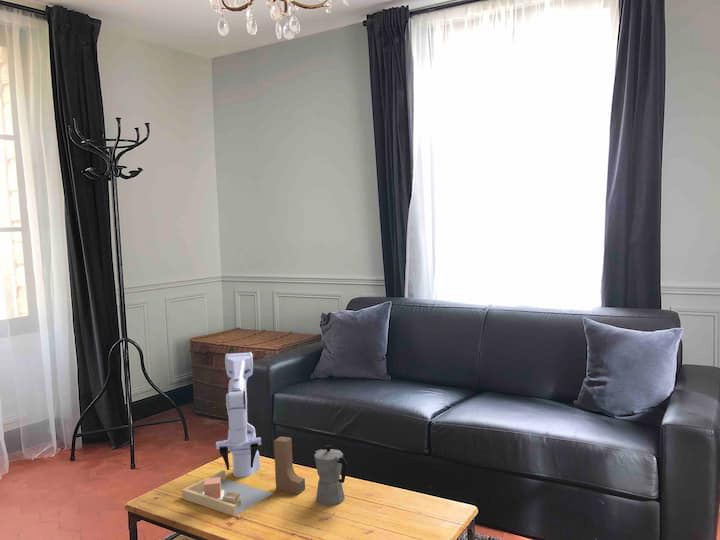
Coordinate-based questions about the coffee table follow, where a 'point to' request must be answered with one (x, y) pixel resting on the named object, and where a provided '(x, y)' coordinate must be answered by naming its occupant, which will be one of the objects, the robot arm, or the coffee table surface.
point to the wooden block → (286, 468)
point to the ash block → (233, 498)
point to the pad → (221, 495)
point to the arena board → (247, 494)
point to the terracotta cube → (212, 487)
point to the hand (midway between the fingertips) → (240, 467)
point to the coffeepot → (330, 476)
